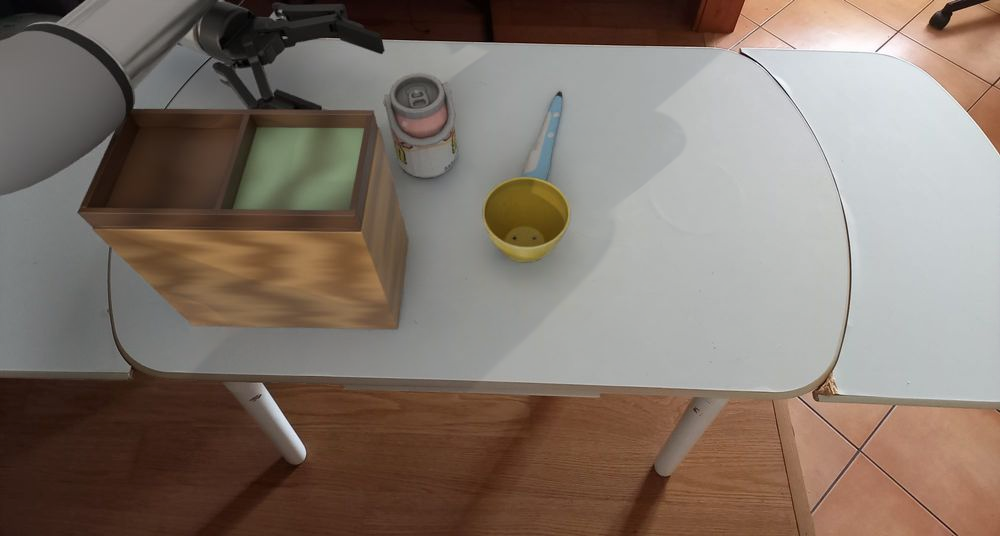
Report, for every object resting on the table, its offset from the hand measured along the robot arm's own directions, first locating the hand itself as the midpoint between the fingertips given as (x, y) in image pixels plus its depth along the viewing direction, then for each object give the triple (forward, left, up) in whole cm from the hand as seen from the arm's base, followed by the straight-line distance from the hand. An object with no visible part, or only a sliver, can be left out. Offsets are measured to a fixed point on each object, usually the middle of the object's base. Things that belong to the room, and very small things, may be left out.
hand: (353, 79), depth 77 cm
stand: (-15, -18, -10) cm, 26 cm away
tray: (-16, -18, +10) cm, 26 cm away
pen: (+21, -13, -11) cm, 27 cm away
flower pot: (+11, -26, -11) cm, 30 cm away
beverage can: (+6, -8, -11) cm, 14 cm away
